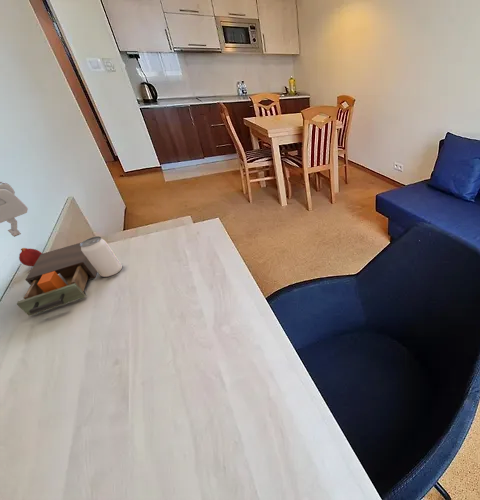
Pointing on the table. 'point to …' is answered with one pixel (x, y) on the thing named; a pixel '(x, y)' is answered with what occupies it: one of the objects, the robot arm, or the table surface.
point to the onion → (29, 256)
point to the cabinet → (61, 262)
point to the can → (101, 256)
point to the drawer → (55, 292)
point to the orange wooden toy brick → (51, 281)
